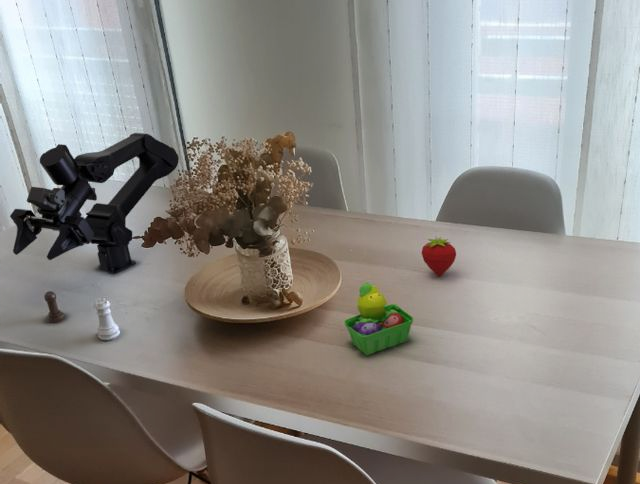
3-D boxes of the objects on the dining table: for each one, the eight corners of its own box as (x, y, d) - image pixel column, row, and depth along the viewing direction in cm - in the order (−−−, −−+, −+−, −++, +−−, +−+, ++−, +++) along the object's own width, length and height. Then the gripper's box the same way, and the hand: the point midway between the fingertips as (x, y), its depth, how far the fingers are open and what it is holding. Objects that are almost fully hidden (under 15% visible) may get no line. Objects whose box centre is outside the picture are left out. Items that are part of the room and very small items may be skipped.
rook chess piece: (124, 331, 176) (116, 296, 172) (113, 342, 173) (104, 307, 169) (105, 329, 178) (97, 294, 173) (94, 340, 174) (85, 305, 170)
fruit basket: (363, 361, 159) (360, 307, 153) (341, 340, 166) (336, 288, 160) (416, 342, 163) (414, 289, 157) (391, 323, 170) (389, 271, 164)
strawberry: (449, 284, 182) (449, 241, 176) (417, 279, 185) (416, 236, 180) (460, 273, 186) (461, 230, 181) (428, 267, 189) (427, 225, 184)
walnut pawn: (58, 313, 185) (50, 286, 182) (67, 317, 184) (60, 290, 180) (44, 320, 183) (37, 293, 180) (54, 324, 181) (46, 297, 178)
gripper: (16, 169, 183) (-24, 224, 176) (85, 177, 175) (45, 234, 168) (43, 206, 192) (5, 260, 185) (110, 215, 184) (73, 271, 177)
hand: (31, 255), depth 178 cm, fingers open, 9 cm apart
